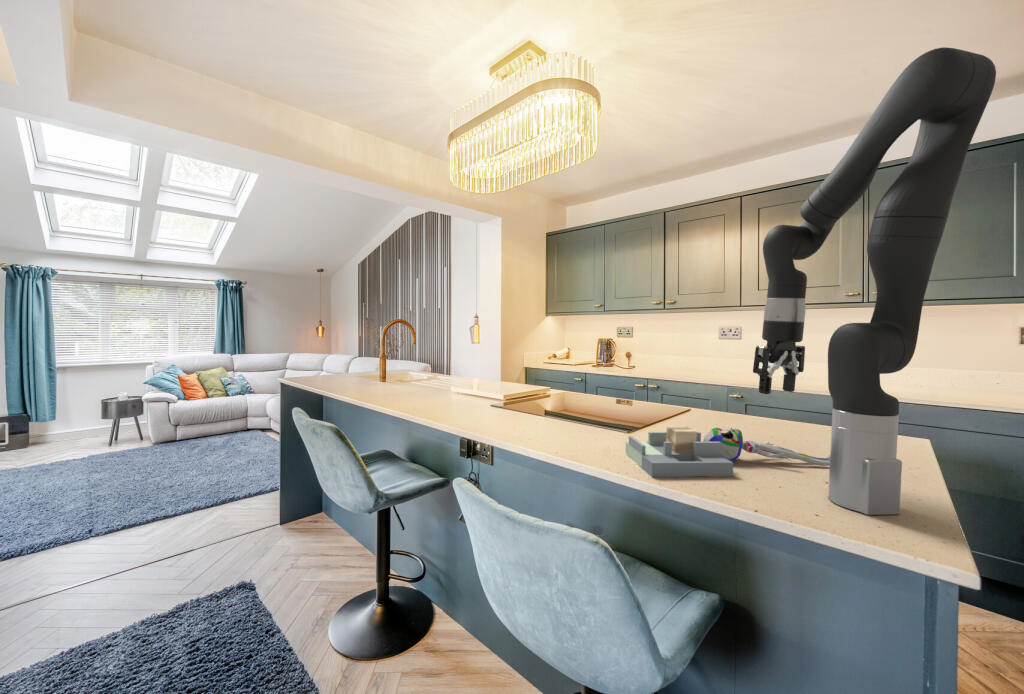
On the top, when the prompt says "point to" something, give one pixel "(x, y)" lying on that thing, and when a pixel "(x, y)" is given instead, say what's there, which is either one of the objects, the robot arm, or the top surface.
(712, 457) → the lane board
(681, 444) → the block
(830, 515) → the top surface
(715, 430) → the toy
